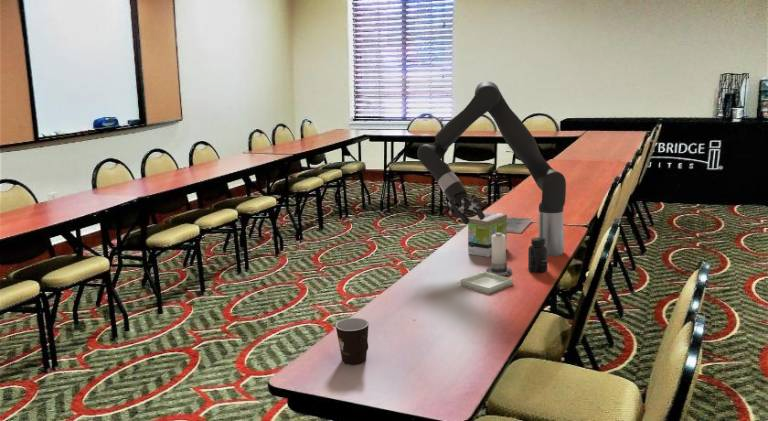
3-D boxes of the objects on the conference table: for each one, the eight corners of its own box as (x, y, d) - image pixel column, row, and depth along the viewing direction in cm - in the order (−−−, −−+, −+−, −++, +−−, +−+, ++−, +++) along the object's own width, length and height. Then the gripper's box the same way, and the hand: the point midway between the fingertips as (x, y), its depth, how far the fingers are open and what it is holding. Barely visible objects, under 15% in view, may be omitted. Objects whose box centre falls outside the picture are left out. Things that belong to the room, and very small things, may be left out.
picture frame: (497, 221, 314) (484, 232, 295) (497, 215, 314) (484, 226, 295) (531, 223, 307) (520, 234, 288) (531, 217, 307) (520, 229, 288)
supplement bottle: (547, 274, 232) (548, 241, 229) (528, 273, 233) (528, 241, 231) (547, 268, 238) (547, 236, 236) (528, 267, 240) (528, 236, 237)
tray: (484, 276, 232) (484, 271, 232) (512, 284, 223) (512, 278, 222) (460, 285, 224) (460, 280, 224) (489, 293, 215) (488, 288, 214)
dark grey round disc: (497, 267, 242) (496, 257, 241) (516, 272, 235) (516, 261, 234) (481, 273, 236) (481, 262, 235) (501, 278, 229) (500, 267, 228)
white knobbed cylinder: (497, 259, 238) (497, 230, 236) (508, 262, 234) (508, 233, 232) (489, 262, 235) (488, 233, 232) (499, 265, 231) (499, 236, 229)
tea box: (489, 257, 254) (489, 221, 251) (467, 254, 260) (466, 218, 257) (507, 248, 266) (507, 213, 263) (485, 245, 272) (485, 210, 269)
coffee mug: (337, 354, 175) (335, 319, 173) (369, 351, 176) (367, 316, 174) (338, 373, 164) (335, 336, 162) (372, 371, 164) (370, 334, 162)
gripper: (443, 183, 238) (468, 218, 232) (469, 177, 247) (493, 211, 241) (434, 196, 243) (457, 230, 237) (459, 190, 252) (482, 223, 247)
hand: (475, 220), depth 239 cm, fingers open, 8 cm apart
